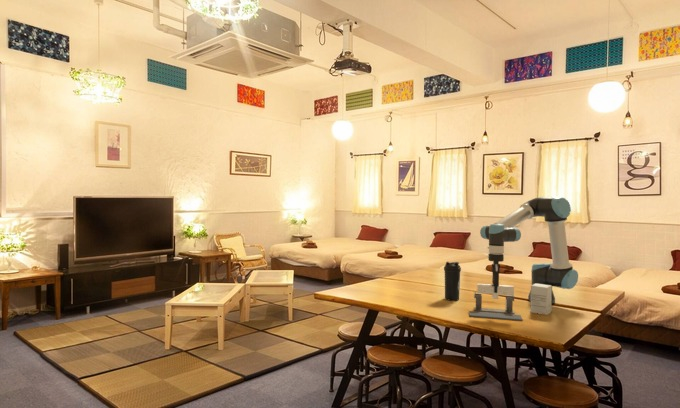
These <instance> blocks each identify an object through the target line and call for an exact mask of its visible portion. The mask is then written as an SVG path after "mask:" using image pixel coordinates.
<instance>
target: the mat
mask: <svg viewBox="0 0 680 408" xmlns="http://www.w3.org/2000/svg"><path fill="white" fill-rule="evenodd" d="M468 314H469V315H468V316H469V317H470V318H481V319H492V320H493V319H495V320H504V321H505V320H507V321H517V322H518V321H519V322H523V321H524V320H523V318H522V315H521V314H515V313H514V314H507V313H495V312H482V311H474V310H468Z"/></svg>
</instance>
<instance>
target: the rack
mask: <svg viewBox="0 0 680 408" xmlns="http://www.w3.org/2000/svg"><path fill="white" fill-rule="evenodd" d="M473 294H474V295H473V297H474V299H475V306H474V307H473V311H475V312H488V313H501V314H514V315H515V311H514V309H513V302H515V295H514V296H511V295H505V309H499V308H489V307H483V306H482V304H483V303H482V297H483V296H482V293H477V291H474V292H473Z"/></svg>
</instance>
